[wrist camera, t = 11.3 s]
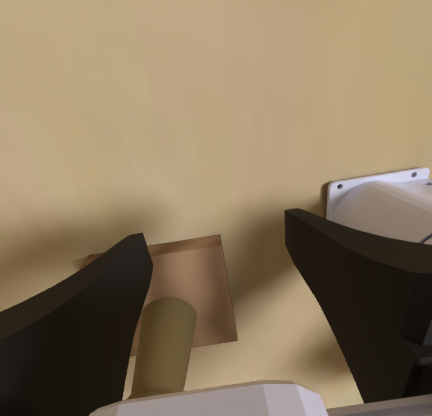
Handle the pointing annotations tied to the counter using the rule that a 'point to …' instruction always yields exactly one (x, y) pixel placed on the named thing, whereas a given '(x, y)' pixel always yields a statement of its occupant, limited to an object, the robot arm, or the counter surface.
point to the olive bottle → (163, 347)
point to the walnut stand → (192, 286)
